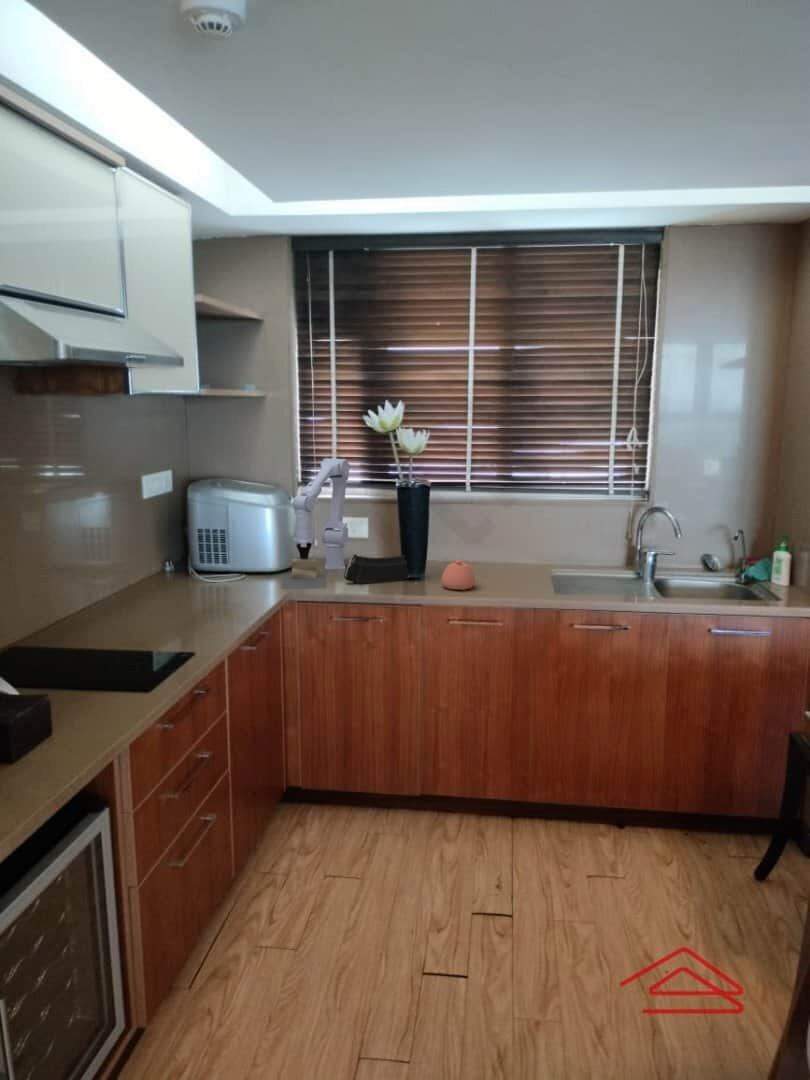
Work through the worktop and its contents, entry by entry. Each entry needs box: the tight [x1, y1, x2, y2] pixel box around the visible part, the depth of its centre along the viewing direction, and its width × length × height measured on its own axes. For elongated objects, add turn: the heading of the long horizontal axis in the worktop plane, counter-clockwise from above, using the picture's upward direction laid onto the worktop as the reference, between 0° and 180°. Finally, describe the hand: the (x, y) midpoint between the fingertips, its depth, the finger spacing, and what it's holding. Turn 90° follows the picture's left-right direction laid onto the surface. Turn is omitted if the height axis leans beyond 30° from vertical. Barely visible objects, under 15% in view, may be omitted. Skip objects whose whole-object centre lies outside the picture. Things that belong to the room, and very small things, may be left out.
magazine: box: [343, 553, 408, 585], centre depth 279 cm, size 17×3×30 cm
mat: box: [280, 574, 327, 590], centre depth 277 cm, size 22×16×1 cm
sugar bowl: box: [441, 559, 476, 591], centre depth 271 cm, size 12×14×10 cm
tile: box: [291, 558, 317, 579], centre depth 281 cm, size 2×9×7 cm, turn 97°
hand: (304, 562), depth 282 cm, fingers closed
